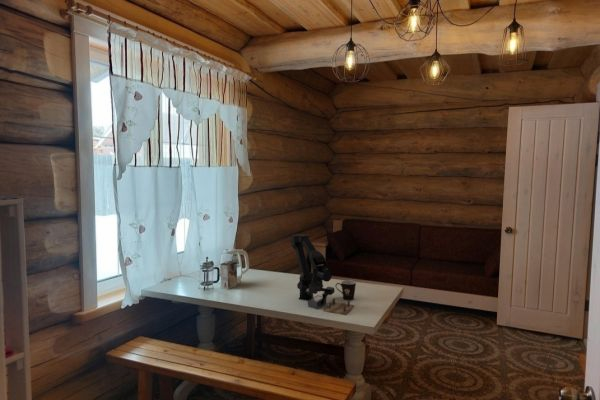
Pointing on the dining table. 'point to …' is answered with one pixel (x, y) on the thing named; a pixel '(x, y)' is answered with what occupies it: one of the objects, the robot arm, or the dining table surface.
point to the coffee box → (228, 274)
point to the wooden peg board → (339, 307)
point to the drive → (316, 302)
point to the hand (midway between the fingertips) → (317, 303)
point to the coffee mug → (347, 289)
